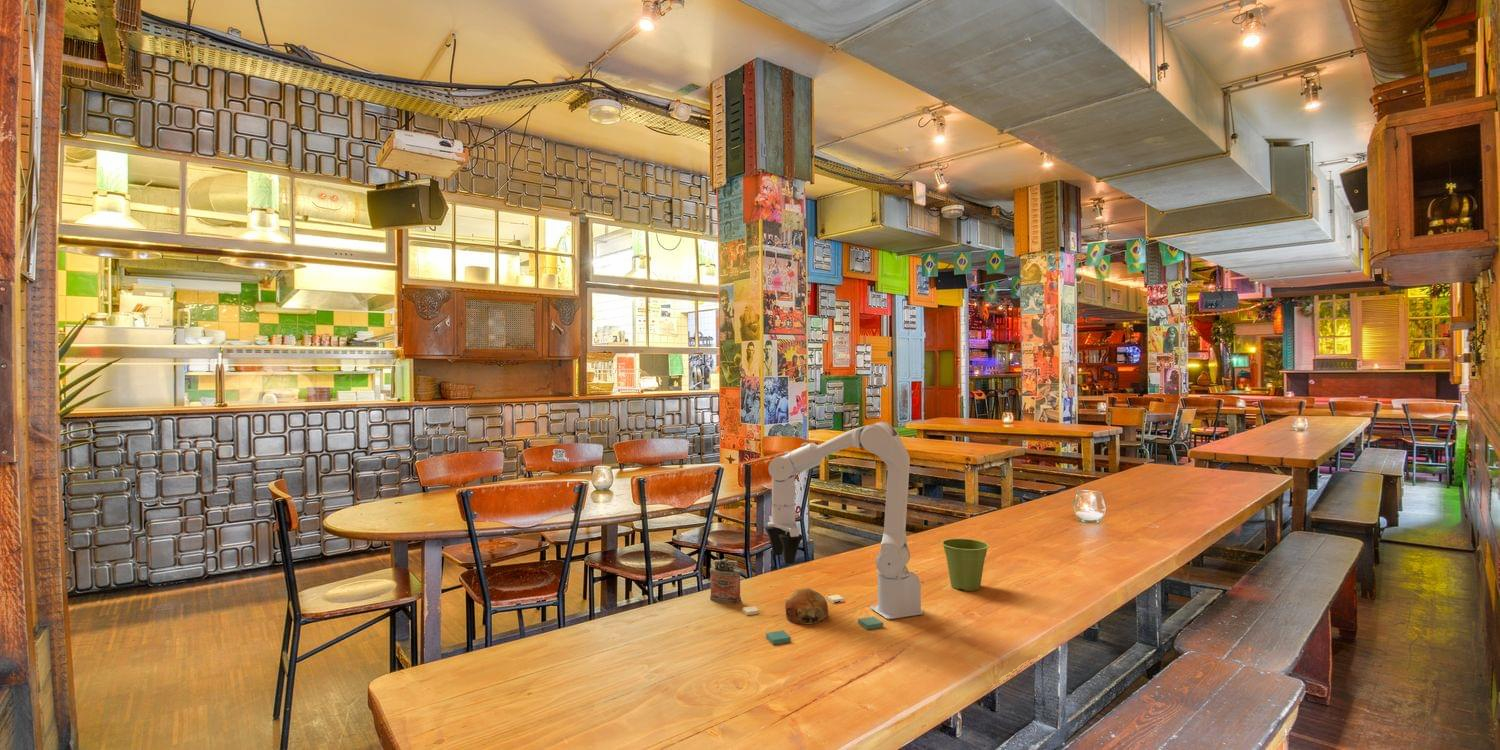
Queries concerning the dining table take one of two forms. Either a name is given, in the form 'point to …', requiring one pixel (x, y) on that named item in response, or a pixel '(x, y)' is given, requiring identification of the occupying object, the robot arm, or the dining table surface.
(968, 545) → the plant pot
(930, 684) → the dining table surface
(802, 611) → the bread roll
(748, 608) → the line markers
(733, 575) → the lighter
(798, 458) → the robot arm
